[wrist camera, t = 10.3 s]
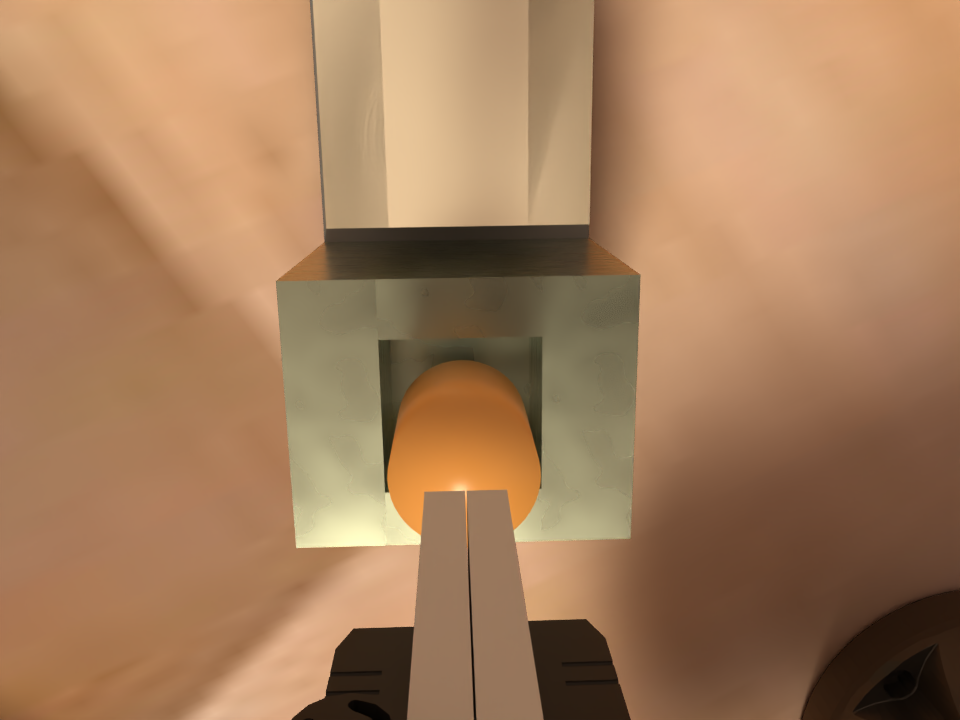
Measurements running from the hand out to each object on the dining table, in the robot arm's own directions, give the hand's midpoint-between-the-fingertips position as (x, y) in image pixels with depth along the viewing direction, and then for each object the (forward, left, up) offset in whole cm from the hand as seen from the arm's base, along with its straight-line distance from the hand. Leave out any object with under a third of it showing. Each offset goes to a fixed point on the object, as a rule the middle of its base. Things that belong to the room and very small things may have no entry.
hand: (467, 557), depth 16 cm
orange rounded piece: (0, 0, -8) cm, 8 cm away
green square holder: (0, 0, -18) cm, 18 cm away
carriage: (0, -8, -17) cm, 19 cm away
